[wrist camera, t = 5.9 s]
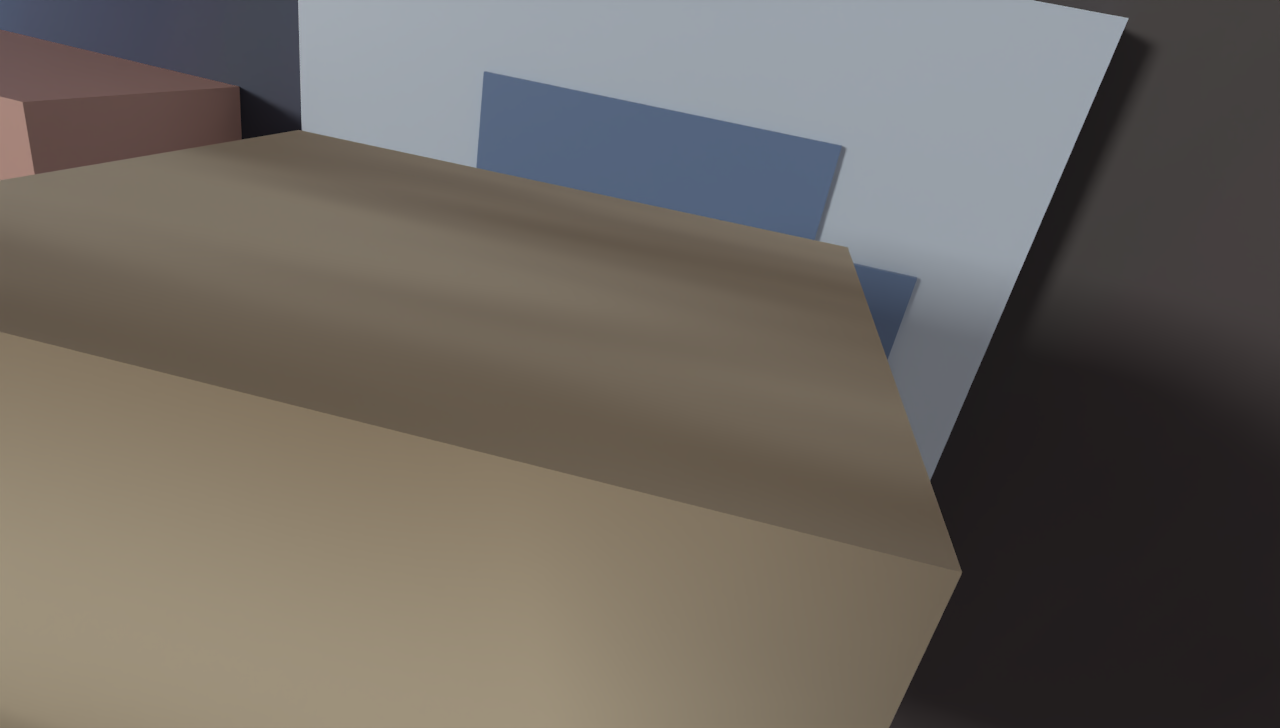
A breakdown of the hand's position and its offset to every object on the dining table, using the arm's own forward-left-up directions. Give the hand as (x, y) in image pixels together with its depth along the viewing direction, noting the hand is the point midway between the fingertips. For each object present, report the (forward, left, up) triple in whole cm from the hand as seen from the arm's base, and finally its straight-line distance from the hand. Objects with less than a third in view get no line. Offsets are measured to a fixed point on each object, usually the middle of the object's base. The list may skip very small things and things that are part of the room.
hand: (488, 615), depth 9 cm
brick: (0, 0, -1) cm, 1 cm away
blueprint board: (0, 0, -8) cm, 8 cm away
